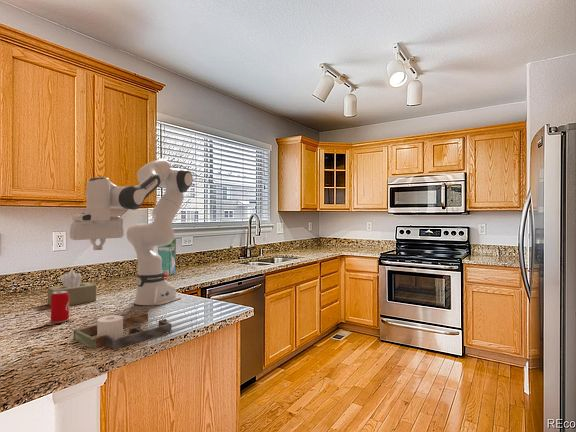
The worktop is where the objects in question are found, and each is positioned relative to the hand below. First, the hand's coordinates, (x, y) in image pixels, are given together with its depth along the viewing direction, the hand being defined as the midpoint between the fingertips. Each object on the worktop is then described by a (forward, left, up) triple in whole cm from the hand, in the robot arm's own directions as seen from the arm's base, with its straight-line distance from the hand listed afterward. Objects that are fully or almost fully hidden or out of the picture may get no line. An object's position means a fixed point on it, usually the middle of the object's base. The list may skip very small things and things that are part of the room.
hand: (97, 249), depth 144 cm
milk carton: (-81, -70, -29) cm, 111 cm away
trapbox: (+1, +25, -29) cm, 38 cm away
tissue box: (-6, -38, -30) cm, 48 cm away
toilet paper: (+5, +22, -29) cm, 37 cm away
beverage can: (+10, -10, -29) cm, 33 cm away
